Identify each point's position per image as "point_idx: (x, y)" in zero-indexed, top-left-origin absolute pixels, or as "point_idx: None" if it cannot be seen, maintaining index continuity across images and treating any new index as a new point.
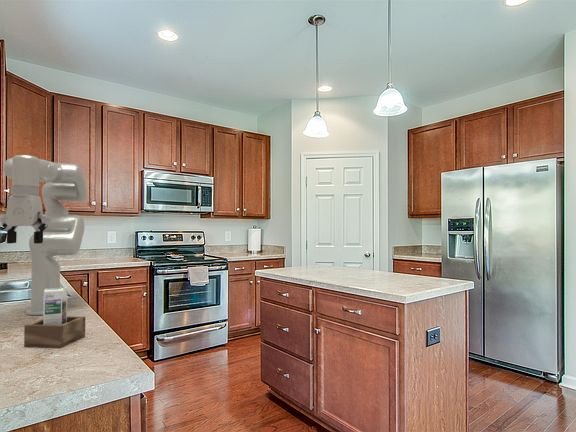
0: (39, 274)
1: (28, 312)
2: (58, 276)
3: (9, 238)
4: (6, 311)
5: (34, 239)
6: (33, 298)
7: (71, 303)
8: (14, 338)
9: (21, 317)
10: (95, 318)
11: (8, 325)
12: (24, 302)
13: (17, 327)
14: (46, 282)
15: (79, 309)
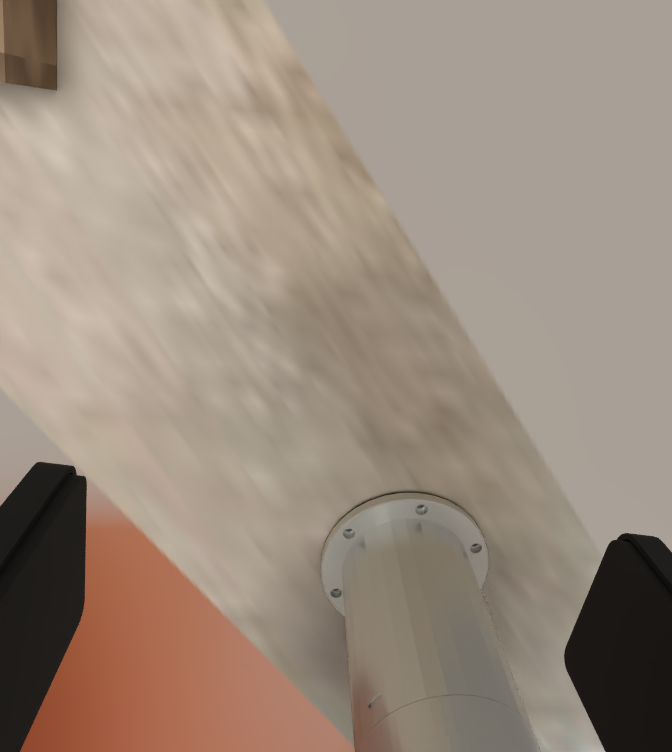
0: (446, 688)
1: (452, 507)
2: (353, 732)
3: (657, 603)
4: None
5: (30, 505)
6: (452, 569)
7: None
8: (234, 41)
9: (460, 461)
10: (50, 426)
11: (433, 312)
12: None
13: (361, 270)
14: (393, 649)
15: (255, 598)
